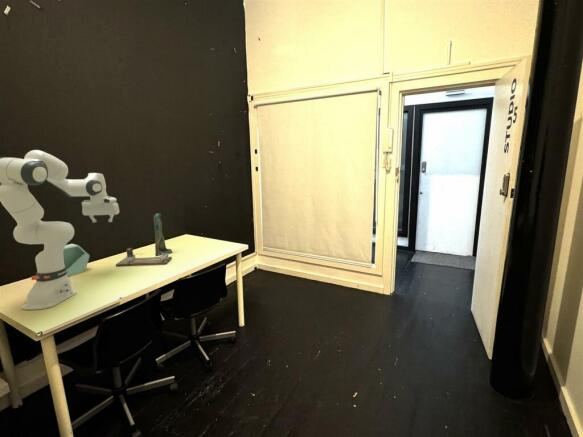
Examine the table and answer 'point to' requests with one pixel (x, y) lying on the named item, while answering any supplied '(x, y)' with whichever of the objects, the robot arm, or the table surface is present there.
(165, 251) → the statue
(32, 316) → the table surface
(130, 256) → the divider leg
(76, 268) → the planter
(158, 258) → the plate
